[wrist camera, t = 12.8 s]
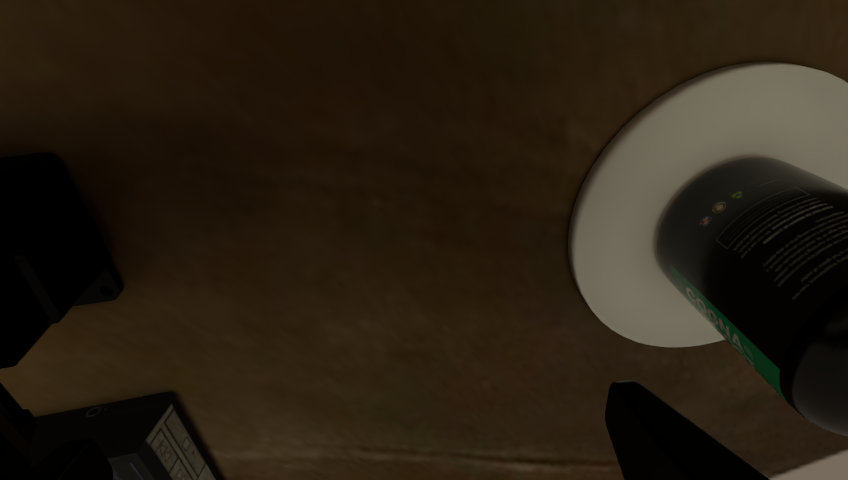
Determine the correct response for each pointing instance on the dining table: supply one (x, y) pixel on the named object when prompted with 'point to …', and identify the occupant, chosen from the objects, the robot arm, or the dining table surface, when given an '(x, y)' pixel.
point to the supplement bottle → (769, 275)
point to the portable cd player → (130, 438)
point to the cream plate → (678, 167)
